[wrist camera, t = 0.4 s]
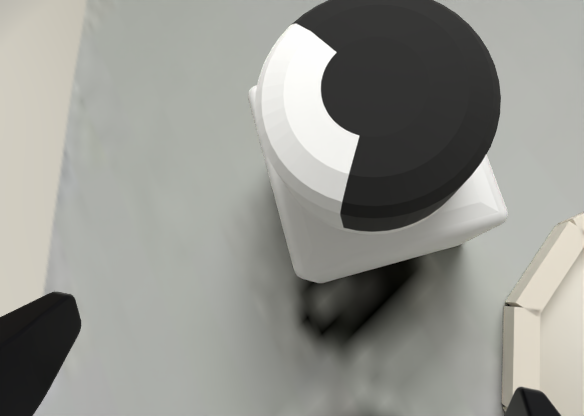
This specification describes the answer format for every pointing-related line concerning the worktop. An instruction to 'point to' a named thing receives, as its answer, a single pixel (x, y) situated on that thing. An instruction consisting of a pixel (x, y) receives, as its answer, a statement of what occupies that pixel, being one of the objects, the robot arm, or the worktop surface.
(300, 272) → the medicine bottle
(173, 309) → the worktop surface
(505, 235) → the worktop surface
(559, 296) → the coaster
